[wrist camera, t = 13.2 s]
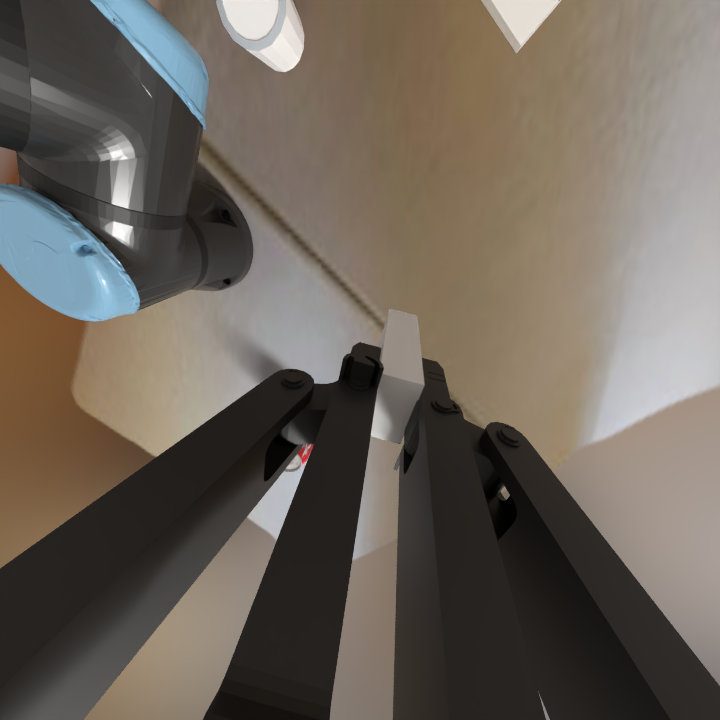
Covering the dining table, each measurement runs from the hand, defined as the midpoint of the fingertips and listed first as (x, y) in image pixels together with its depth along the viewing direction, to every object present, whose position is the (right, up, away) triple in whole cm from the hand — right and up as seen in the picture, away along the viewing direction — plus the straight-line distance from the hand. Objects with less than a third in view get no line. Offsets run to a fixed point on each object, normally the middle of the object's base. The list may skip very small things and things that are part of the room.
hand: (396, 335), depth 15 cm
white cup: (-11, +35, +17) cm, 40 cm away
